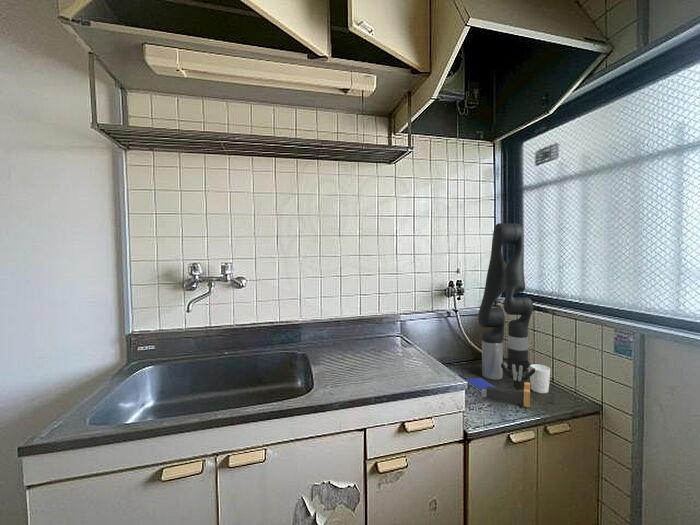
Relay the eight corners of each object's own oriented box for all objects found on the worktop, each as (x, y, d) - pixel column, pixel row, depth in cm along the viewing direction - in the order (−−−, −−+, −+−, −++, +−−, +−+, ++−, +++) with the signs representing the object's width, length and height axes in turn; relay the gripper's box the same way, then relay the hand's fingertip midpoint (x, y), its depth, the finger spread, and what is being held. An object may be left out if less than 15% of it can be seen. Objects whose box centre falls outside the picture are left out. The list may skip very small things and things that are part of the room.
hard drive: (498, 388, 145) (480, 377, 157) (481, 390, 143) (465, 379, 156) (498, 391, 145) (480, 380, 157) (481, 394, 144) (465, 382, 156)
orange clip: (524, 399, 136) (524, 380, 135) (530, 400, 135) (530, 380, 134) (523, 406, 130) (523, 385, 130) (529, 407, 129) (529, 386, 129)
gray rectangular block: (482, 394, 142) (482, 385, 142) (524, 402, 134) (524, 392, 134) (481, 397, 140) (481, 387, 140) (524, 405, 132) (524, 395, 131)
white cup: (553, 391, 144) (554, 368, 143) (543, 395, 140) (544, 372, 139) (535, 384, 151) (535, 363, 150) (525, 389, 146) (525, 366, 146)
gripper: (537, 346, 133) (536, 389, 134) (501, 342, 140) (500, 382, 140) (536, 351, 126) (536, 396, 127) (498, 347, 133) (498, 389, 134)
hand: (517, 389), depth 134 cm, fingers closed
